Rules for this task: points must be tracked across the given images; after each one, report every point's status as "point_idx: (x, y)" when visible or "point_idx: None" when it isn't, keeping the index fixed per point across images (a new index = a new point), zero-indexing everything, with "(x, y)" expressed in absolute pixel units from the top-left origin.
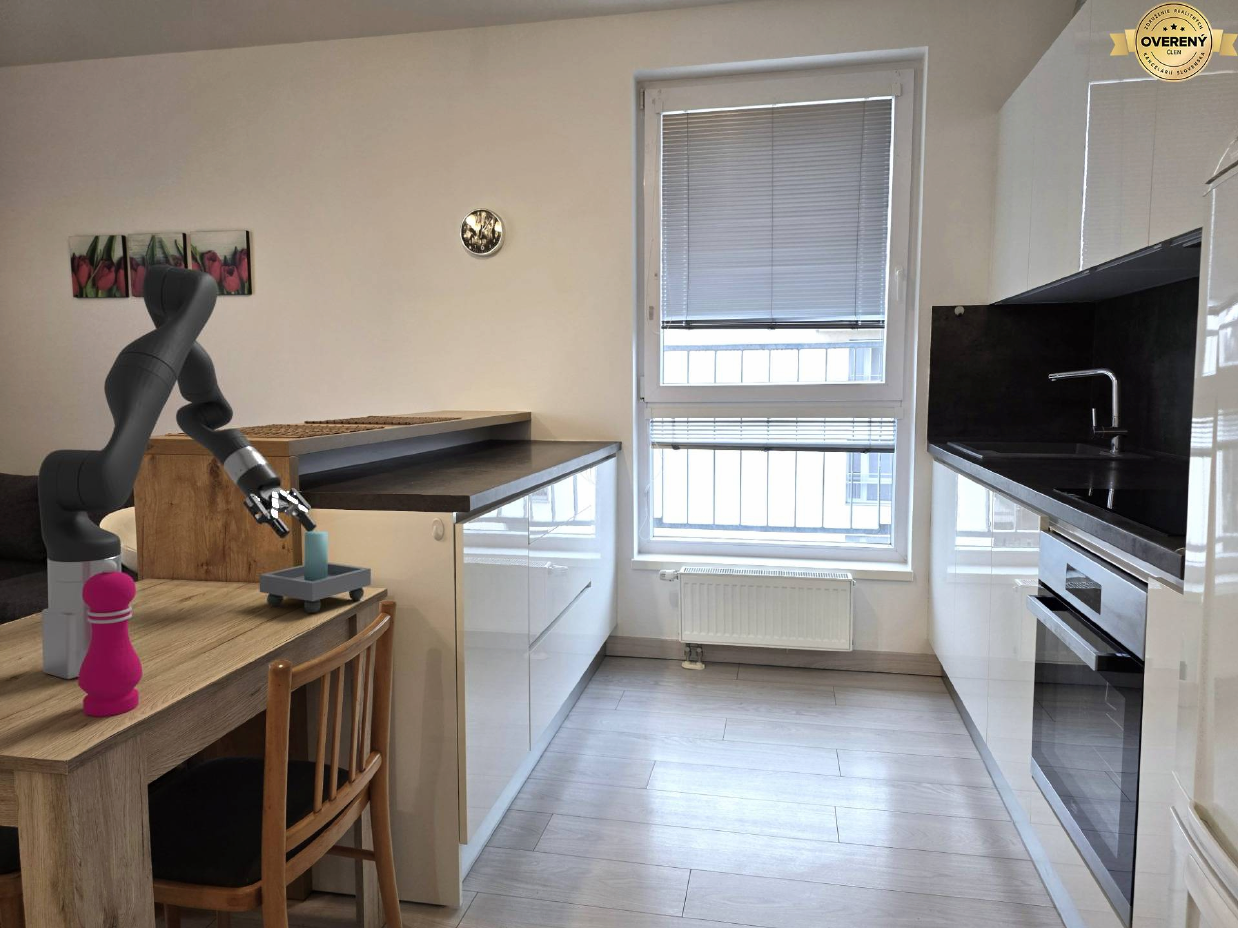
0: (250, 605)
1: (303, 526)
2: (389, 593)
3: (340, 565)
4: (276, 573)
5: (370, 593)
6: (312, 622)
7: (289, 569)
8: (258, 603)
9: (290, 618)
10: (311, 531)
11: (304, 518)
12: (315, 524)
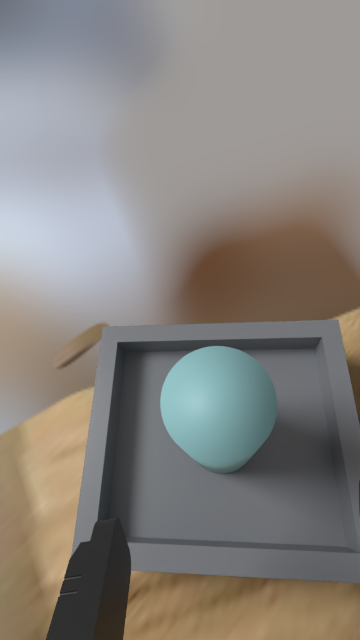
0: (356, 607)
1: (124, 619)
2: (62, 359)
3: (103, 435)
4: (320, 550)
5: (78, 397)
6: (342, 322)
7: (250, 551)
8: (323, 603)
9: (357, 385)
10: (203, 453)
11: (106, 630)
12: (99, 524)
